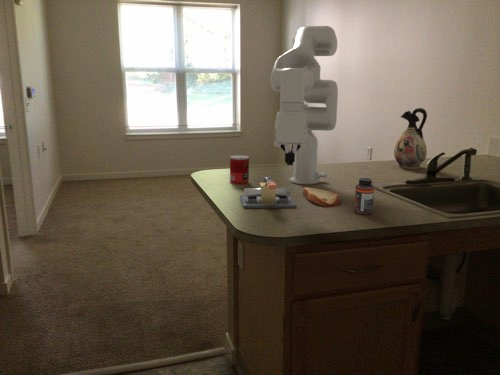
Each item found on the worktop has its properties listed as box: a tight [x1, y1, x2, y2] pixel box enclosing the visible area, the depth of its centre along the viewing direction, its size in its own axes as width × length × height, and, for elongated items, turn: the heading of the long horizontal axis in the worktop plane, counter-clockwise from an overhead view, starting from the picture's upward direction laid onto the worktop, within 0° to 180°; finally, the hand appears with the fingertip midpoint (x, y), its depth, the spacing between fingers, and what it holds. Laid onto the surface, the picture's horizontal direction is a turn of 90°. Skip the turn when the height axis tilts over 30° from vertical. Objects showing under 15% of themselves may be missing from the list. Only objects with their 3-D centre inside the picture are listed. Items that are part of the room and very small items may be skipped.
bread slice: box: [301, 186, 341, 208], centre depth 163 cm, size 18×18×4 cm
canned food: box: [229, 154, 250, 185], centre depth 186 cm, size 8×8×11 cm
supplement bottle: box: [353, 177, 375, 215], centre depth 146 cm, size 6×6×11 cm
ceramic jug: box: [393, 107, 428, 170], centre depth 221 cm, size 17×15×30 cm
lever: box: [262, 176, 277, 189], centre depth 151 cm, size 13×3×1 cm, turn 6°
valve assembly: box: [239, 182, 297, 209], centre depth 157 cm, size 18×14×8 cm
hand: (289, 164), depth 146 cm, fingers closed
